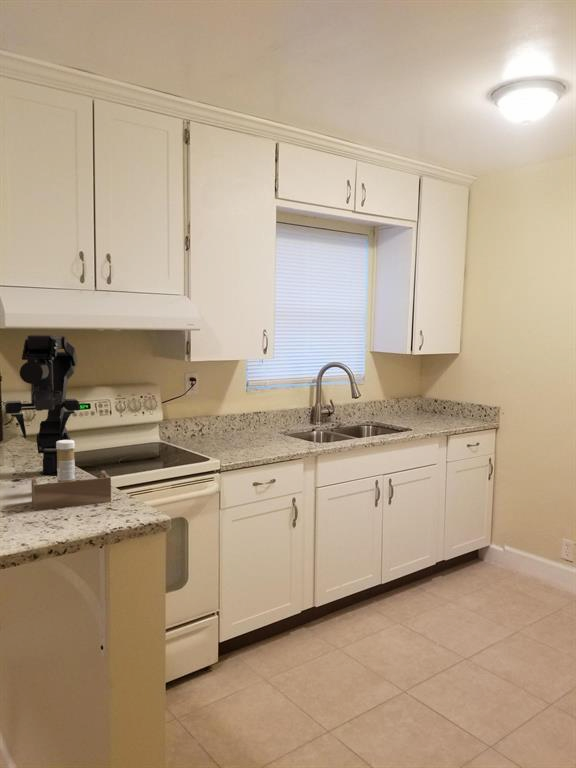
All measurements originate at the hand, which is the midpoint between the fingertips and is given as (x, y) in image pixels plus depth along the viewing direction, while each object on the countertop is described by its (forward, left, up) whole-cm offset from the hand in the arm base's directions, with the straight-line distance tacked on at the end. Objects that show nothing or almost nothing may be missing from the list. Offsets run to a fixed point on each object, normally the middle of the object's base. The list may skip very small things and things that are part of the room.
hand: (43, 436), depth 164 cm
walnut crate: (+11, +19, -13) cm, 25 cm away
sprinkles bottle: (+4, +11, -13) cm, 18 cm away
